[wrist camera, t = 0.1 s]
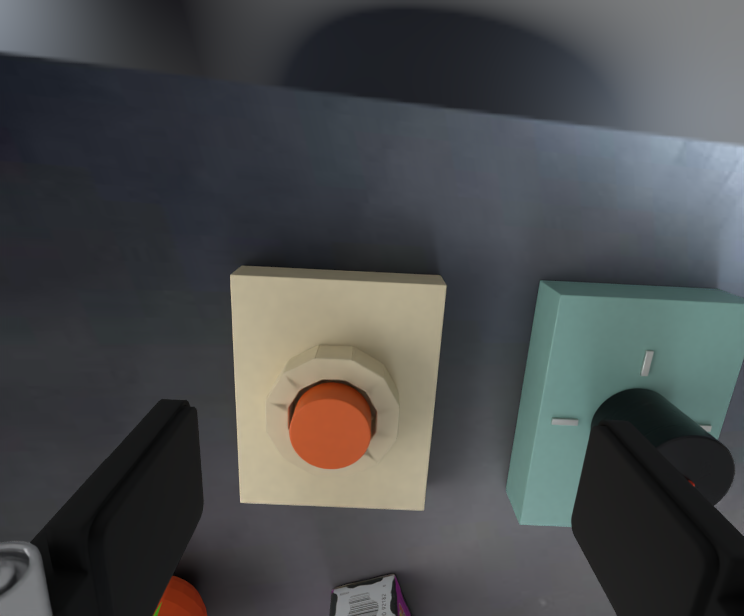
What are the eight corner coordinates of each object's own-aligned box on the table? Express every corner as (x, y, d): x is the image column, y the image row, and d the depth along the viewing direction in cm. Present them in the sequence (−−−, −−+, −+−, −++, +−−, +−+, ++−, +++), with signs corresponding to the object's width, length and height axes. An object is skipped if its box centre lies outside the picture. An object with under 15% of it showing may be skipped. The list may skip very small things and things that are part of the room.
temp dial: (598, 385, 24) (651, 437, 19) (681, 389, 24) (754, 442, 19) (582, 457, 25) (628, 522, 21) (661, 461, 25) (725, 526, 21)
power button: (294, 379, 23) (288, 396, 22) (373, 383, 23) (373, 400, 22) (294, 447, 25) (289, 468, 23) (369, 450, 25) (369, 471, 23)
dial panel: (539, 279, 25) (562, 295, 22) (718, 288, 26) (764, 305, 23) (505, 490, 30) (520, 527, 27) (658, 496, 30) (690, 534, 27)
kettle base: (241, 265, 25) (218, 283, 21) (440, 275, 25) (452, 294, 22) (249, 478, 29) (231, 525, 26) (420, 486, 30) (427, 534, 26)
